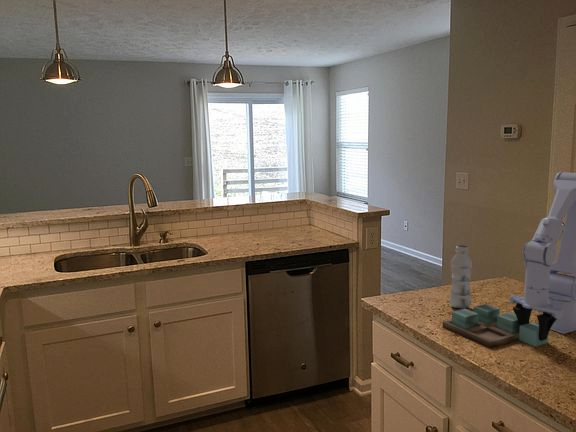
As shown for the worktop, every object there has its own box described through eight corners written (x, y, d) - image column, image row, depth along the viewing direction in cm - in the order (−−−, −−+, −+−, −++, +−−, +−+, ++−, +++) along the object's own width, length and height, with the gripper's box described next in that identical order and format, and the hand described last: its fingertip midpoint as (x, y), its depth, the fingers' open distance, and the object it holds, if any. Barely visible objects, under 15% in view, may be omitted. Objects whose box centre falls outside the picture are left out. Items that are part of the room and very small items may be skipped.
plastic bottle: (472, 311, 160) (475, 249, 157) (449, 310, 162) (452, 248, 158) (469, 304, 167) (472, 244, 163) (447, 303, 168) (450, 243, 165)
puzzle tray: (484, 316, 156) (485, 301, 155) (533, 335, 141) (535, 318, 140) (442, 326, 148) (443, 310, 148) (489, 348, 133) (490, 330, 133)
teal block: (531, 336, 141) (532, 322, 140) (547, 342, 136) (548, 328, 136) (518, 339, 138) (519, 325, 138) (535, 346, 134) (536, 332, 133)
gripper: (503, 281, 139) (500, 329, 142) (551, 296, 127) (548, 348, 129) (521, 278, 143) (518, 325, 145) (570, 292, 130) (566, 343, 132)
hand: (533, 336), depth 137 cm, fingers open, 5 cm apart
